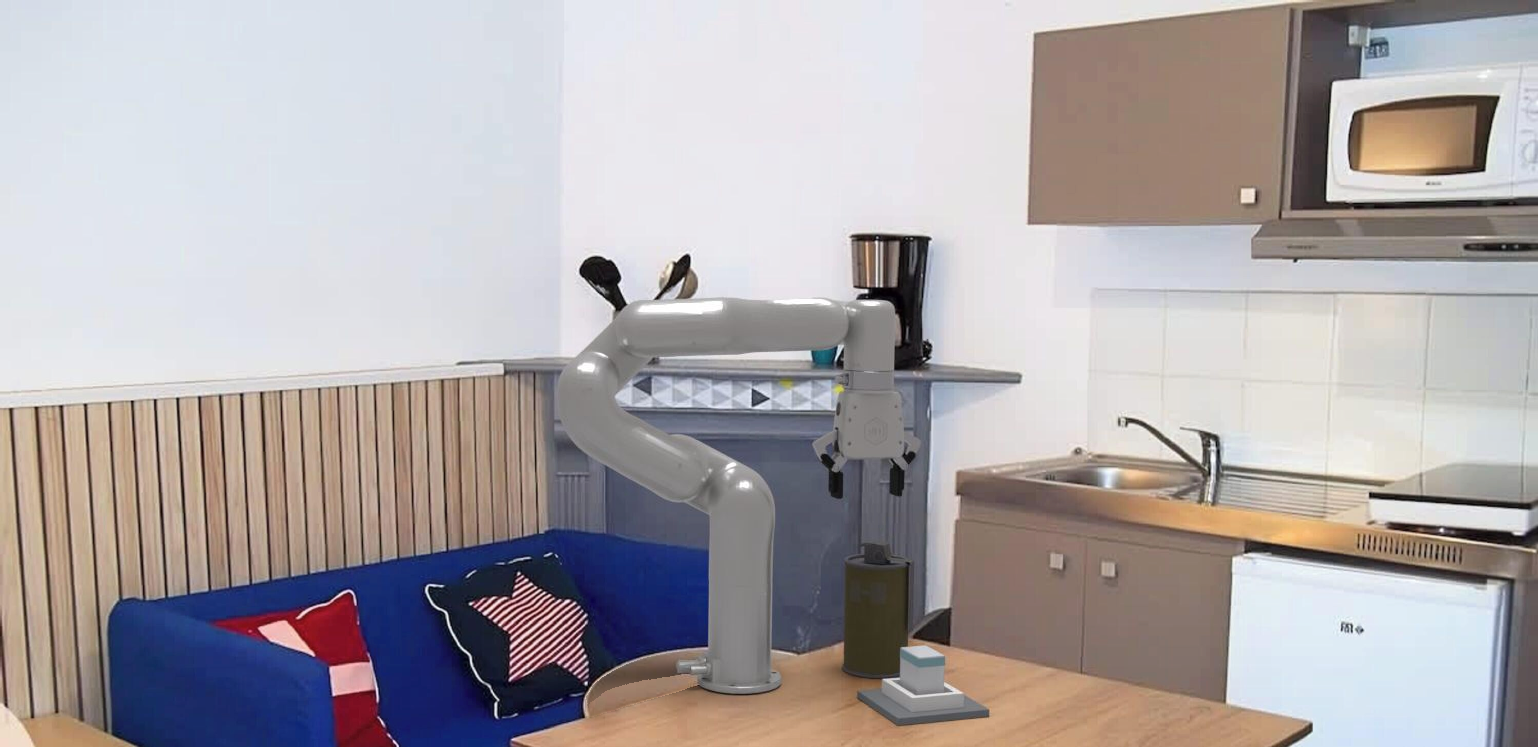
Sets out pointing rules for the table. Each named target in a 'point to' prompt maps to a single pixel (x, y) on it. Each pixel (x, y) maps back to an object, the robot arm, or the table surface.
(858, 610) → the canister
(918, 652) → the plug
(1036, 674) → the table surface
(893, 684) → the grey square socket base
